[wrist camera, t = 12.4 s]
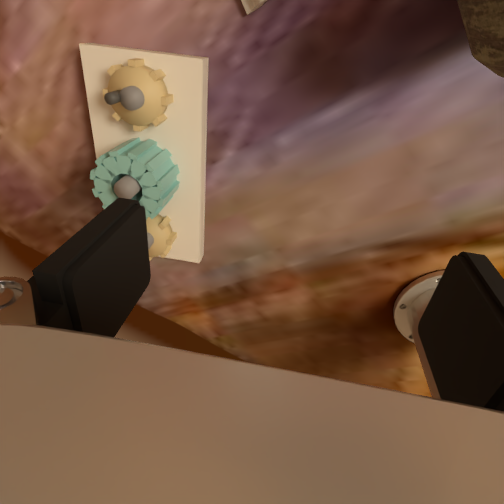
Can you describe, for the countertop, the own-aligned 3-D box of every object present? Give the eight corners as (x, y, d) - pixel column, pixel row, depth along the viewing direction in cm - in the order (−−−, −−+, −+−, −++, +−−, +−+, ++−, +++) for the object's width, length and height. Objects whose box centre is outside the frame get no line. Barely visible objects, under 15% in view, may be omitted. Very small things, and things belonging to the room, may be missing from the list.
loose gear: (178, 142, 36) (161, 157, 32) (180, 207, 40) (165, 228, 36) (110, 133, 37) (84, 146, 33) (118, 198, 41) (96, 217, 37)
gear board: (208, 57, 33) (182, 64, 27) (203, 254, 46) (184, 292, 39) (90, 42, 34) (36, 45, 28) (117, 240, 47) (84, 274, 40)
